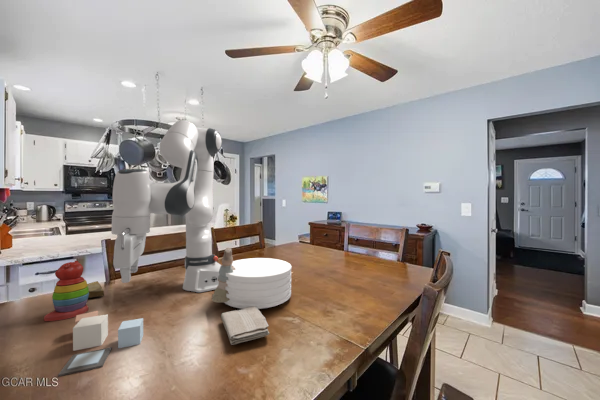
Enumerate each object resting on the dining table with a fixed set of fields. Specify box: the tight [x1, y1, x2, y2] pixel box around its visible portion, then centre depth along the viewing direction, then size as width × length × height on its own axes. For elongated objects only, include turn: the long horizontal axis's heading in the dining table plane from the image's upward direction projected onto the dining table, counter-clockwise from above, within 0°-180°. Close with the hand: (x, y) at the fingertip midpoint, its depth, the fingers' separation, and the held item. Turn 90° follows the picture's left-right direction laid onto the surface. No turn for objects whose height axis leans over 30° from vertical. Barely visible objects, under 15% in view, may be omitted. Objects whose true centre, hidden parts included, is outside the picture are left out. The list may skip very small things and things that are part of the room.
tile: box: [57, 346, 113, 377], centre depth 62 cm, size 8×8×1 cm
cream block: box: [72, 314, 109, 351], centre depth 70 cm, size 6×6×6 cm
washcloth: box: [220, 306, 270, 346], centre depth 79 cm, size 12×18×3 cm, turn 27°
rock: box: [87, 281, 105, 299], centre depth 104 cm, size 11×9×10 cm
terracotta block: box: [74, 310, 99, 326], centre depth 75 cm, size 5×5×5 cm
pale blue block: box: [117, 317, 144, 349], centre depth 70 cm, size 5×5×5 cm
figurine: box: [211, 247, 236, 303], centre depth 96 cm, size 9×8×20 cm
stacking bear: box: [43, 260, 89, 322], centre depth 88 cm, size 11×10×18 cm
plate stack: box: [223, 257, 293, 310], centre depth 104 cm, size 28×28×12 cm
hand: (130, 276), depth 70 cm, fingers open, 8 cm apart
